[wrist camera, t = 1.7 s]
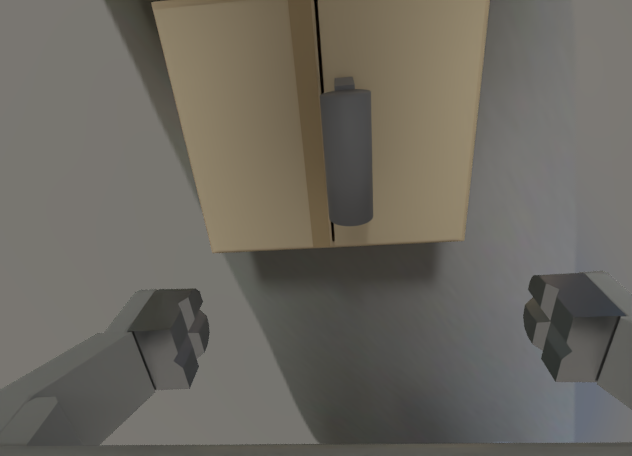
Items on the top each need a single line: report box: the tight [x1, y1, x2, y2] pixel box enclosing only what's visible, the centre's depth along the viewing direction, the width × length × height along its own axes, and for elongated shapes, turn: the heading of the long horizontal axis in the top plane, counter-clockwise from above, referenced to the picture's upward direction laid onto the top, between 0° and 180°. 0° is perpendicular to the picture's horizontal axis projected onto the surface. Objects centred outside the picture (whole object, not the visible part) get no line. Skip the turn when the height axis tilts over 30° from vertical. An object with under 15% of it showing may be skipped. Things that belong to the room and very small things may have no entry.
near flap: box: [318, 0, 486, 246], centre depth 21 cm, size 15×9×6 cm, turn 5°
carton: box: [151, 0, 490, 253], centre depth 27 cm, size 16×18×9 cm
